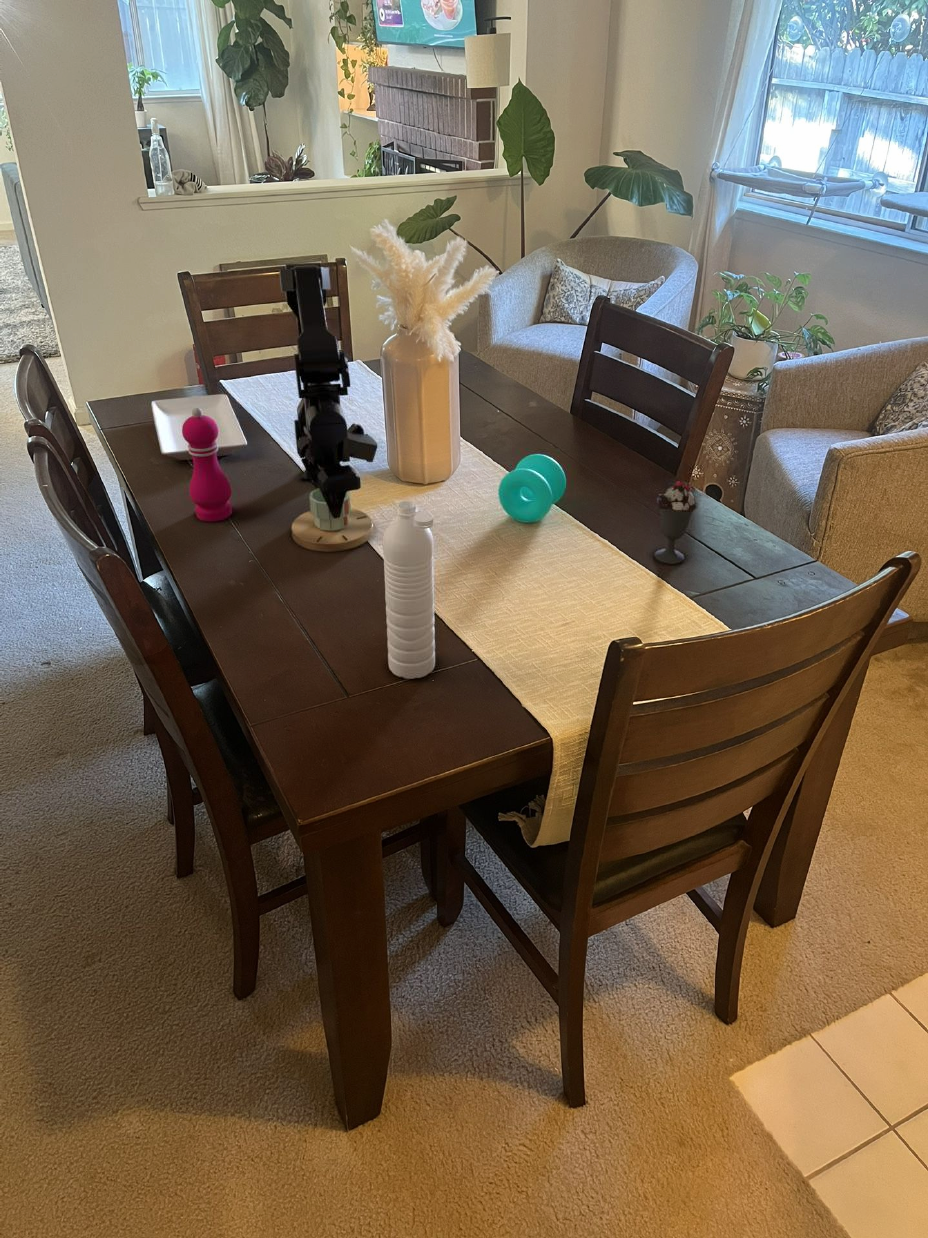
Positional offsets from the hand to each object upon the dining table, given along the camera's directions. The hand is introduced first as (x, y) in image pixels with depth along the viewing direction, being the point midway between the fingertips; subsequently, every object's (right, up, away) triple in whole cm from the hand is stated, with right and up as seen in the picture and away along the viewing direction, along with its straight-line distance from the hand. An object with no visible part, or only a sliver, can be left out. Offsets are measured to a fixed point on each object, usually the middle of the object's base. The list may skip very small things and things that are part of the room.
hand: (331, 508), depth 158 cm
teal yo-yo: (+35, 0, +9) cm, 36 cm away
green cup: (0, -2, +2) cm, 3 cm away
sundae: (+57, -9, -4) cm, 58 cm away
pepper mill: (-22, 0, +8) cm, 24 cm away
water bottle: (+16, -26, -31) cm, 44 cm away
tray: (-34, +20, +39) cm, 55 cm away
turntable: (0, -4, +3) cm, 4 cm away
